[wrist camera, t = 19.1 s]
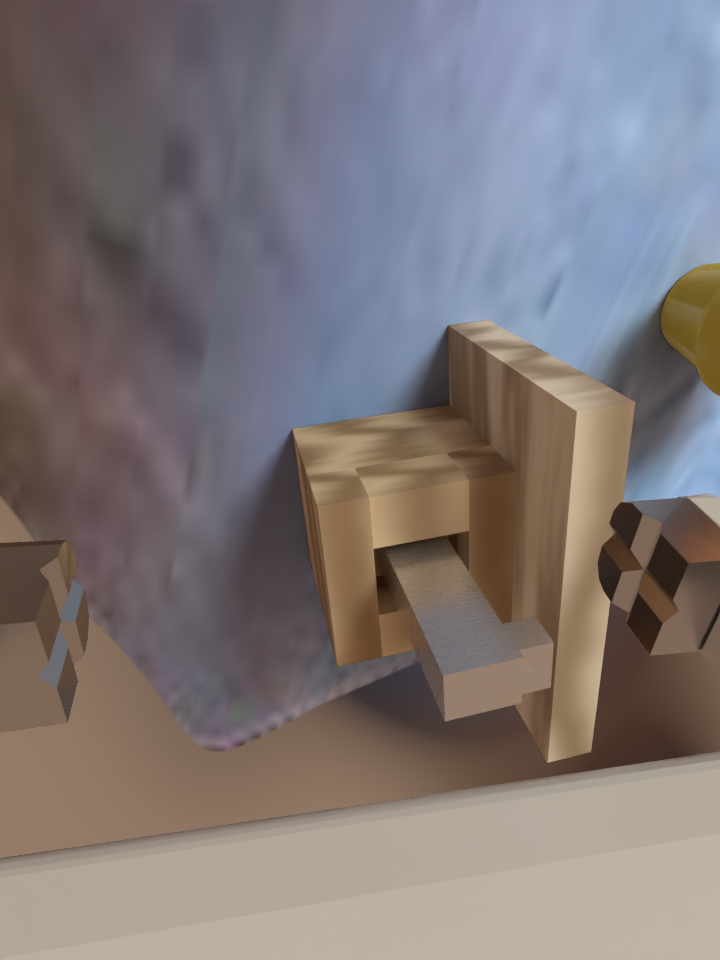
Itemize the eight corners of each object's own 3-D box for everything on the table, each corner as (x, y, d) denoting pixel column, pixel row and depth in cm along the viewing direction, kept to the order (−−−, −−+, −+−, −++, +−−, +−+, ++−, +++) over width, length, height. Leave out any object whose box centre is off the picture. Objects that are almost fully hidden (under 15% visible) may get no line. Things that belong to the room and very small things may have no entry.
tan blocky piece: (319, 622, 54) (364, 808, 39) (281, 348, 43) (323, 452, 28) (484, 588, 57) (590, 751, 41) (488, 320, 46) (635, 402, 30)
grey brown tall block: (377, 563, 43) (445, 721, 31) (374, 525, 42) (443, 675, 30) (458, 547, 44) (555, 694, 32) (457, 510, 43) (558, 648, 30)
